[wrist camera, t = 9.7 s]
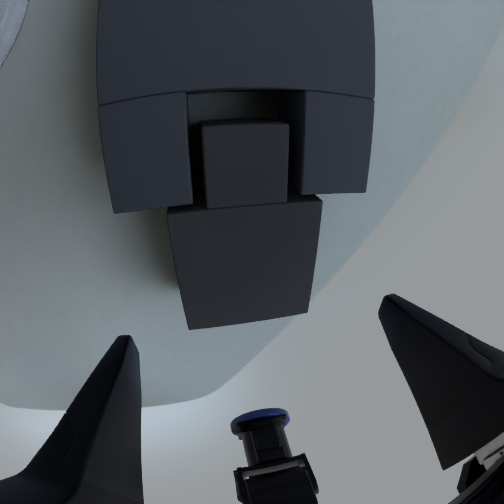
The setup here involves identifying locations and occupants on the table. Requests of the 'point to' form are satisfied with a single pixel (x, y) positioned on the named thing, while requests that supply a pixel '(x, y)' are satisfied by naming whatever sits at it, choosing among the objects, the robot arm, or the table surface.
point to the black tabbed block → (244, 229)
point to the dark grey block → (233, 88)
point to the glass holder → (10, 24)
